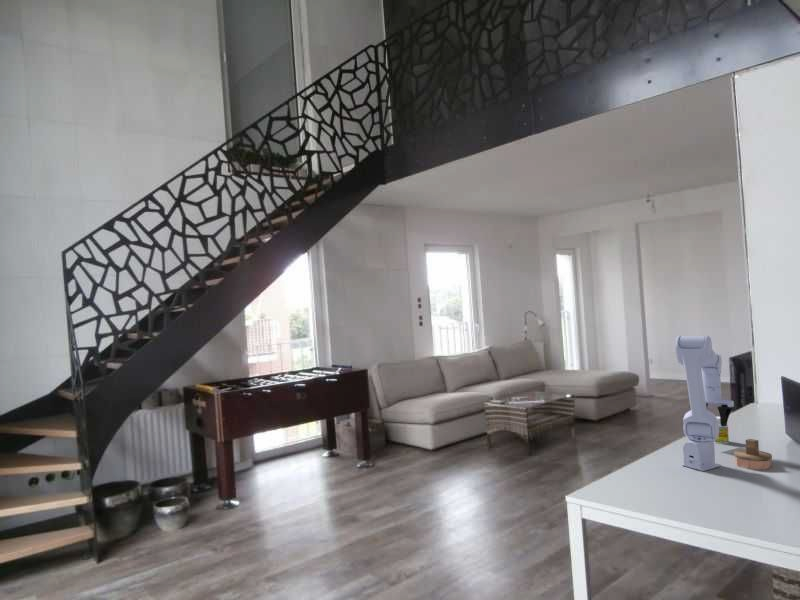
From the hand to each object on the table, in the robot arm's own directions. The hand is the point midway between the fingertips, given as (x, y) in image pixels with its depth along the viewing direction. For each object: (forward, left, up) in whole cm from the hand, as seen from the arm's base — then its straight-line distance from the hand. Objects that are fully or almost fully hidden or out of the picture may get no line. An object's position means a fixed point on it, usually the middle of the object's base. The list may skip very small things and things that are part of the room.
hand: (713, 424), depth 202 cm
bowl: (-6, -17, -10) cm, 21 cm away
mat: (+5, -8, -10) cm, 14 cm away
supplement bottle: (+12, +6, -10) cm, 17 cm away
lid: (-6, -17, -7) cm, 19 cm away
